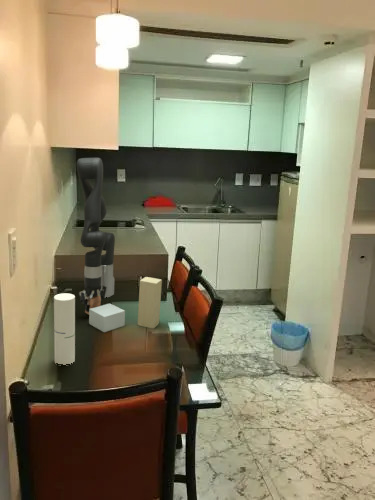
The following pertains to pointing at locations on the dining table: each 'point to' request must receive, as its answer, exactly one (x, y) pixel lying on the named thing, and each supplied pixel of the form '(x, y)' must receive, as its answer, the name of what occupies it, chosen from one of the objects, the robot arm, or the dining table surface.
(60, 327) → the cylindrical container
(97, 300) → the terracotta block
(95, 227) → the robot arm
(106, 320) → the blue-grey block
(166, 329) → the dining table surface
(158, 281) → the tall beige block
